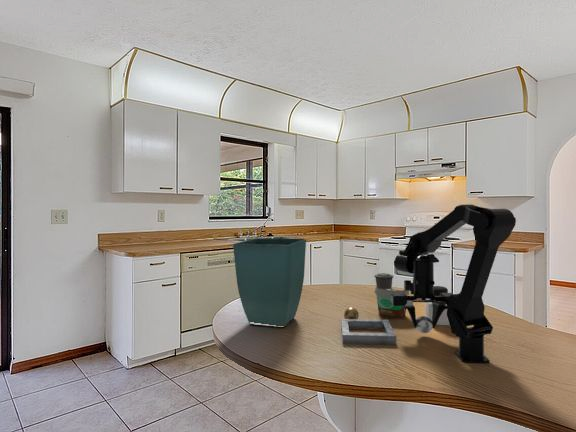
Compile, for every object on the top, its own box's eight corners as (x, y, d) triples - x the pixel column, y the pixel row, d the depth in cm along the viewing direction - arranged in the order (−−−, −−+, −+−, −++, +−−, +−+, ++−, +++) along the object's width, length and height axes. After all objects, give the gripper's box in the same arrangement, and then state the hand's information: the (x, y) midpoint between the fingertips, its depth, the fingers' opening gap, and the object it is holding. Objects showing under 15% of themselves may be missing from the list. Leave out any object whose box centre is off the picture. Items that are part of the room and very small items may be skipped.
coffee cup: (371, 295, 159) (370, 273, 159) (387, 293, 162) (386, 271, 161) (381, 299, 151) (380, 276, 151) (397, 298, 154) (397, 274, 154)
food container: (370, 317, 128) (370, 289, 128) (375, 312, 134) (374, 285, 133) (406, 321, 122) (406, 292, 122) (409, 316, 128) (409, 288, 128)
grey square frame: (396, 344, 102) (396, 336, 102) (342, 343, 104) (342, 334, 104) (388, 327, 117) (387, 319, 117) (341, 326, 119) (341, 318, 119)
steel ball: (435, 335, 105) (434, 319, 105) (417, 335, 106) (417, 318, 106) (430, 330, 110) (430, 314, 110) (413, 329, 111) (413, 313, 111)
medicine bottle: (452, 326, 117) (451, 289, 117) (429, 325, 118) (428, 288, 118) (447, 319, 124) (446, 284, 124) (425, 318, 125) (424, 284, 125)
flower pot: (291, 334, 112) (289, 244, 112) (233, 328, 119) (231, 243, 118) (308, 315, 131) (306, 238, 131) (258, 311, 138) (256, 238, 137)
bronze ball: (359, 324, 120) (359, 309, 120) (344, 324, 121) (344, 309, 120) (358, 320, 125) (358, 305, 125) (343, 319, 125) (343, 305, 125)
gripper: (447, 271, 115) (447, 319, 115) (387, 271, 117) (388, 319, 117) (459, 278, 104) (460, 331, 104) (393, 277, 106) (394, 330, 106)
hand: (424, 327), depth 108 cm, fingers closed on steel ball, 5 cm apart
